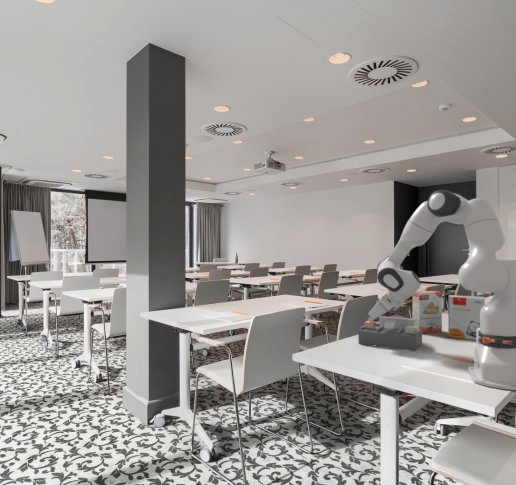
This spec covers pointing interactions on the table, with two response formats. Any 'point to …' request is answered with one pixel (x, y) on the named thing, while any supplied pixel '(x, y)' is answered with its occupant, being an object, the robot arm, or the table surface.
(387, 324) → the cream key
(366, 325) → the terracotta key
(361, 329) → the key console
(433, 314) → the cracker box
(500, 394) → the table surface
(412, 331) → the sage key
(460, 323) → the hard drive box
